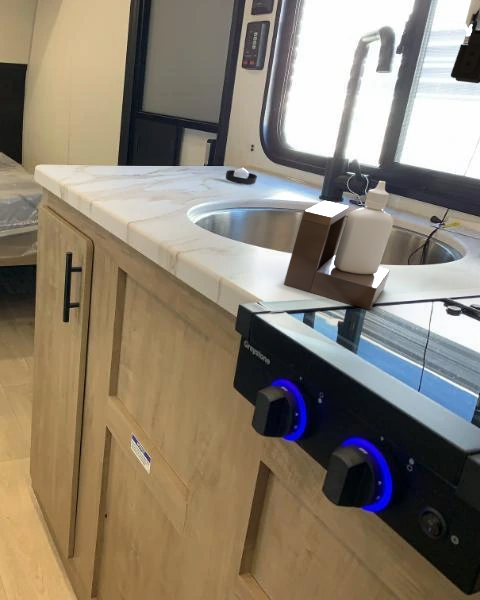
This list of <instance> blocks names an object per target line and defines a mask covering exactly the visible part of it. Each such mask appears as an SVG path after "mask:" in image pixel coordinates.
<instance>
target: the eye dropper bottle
mask: <svg viewBox="0 0 480 600" xmlns="http://www.w3.org/2000/svg"><path fill="white" fill-rule="evenodd" d="M389 197H390V193H388V192H387V191H386V181H384V180H379V181H378V183H377V184H376V187H375V188H373V189H370V190H368V191H367V196H366V199H365V202H364V207H360V208H356V209H353V210H351V211H350V212H348V214H347V216H346V219H345V222H344V226H343V229H342V232H341V236H340V239H339V242H338V245H337V249H336V252H335V259H334V262H333V264H334V266H335V267H336V268H338V269H339V270H341V271H344V272H349V273H356V274H375V273H376V272H377V271H378V269H379V267H381V266H380V265H381V263H382V259H383V257H384V254H385V250H386V248H387V245H388V241H389V238H390V236H391V232H392V230H393V225H394V218H393V217H392V216H391V214H389V213H388V212H386V211H384V210H385V209H386V206H387V204H388V200H389Z"/></svg>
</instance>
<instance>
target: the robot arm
mask: <svg viewBox="0 0 480 600" xmlns="http://www.w3.org/2000/svg"><path fill="white" fill-rule="evenodd" d="M464 28H465V31H466V34H465V36H464V39H463V42H462V44H460V46H459V48H458V51H457V55H456V58H455V60H454V63H453V67H452V69H451V72H450V77H451V78H452V79H455V81H457V82H461V83H462V82H463V83H470V84H480V0H470V4H469V8H468V11H467V15H466V19H465V24H464Z"/></svg>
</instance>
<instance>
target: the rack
mask: <svg viewBox="0 0 480 600" xmlns="http://www.w3.org/2000/svg"><path fill="white" fill-rule="evenodd" d="M349 209H350V206H349V205H345V204H341V203H336V202H332V201H327V200H323V201H321V202H318V203H316V204H315V205H313V206H311V207H308V208H307V209H305V210H303V211H302V216H301V220H300V223H299V227H298V230H297V233H296V238H295V241H294V245H293V249H292V252H291V255H290V259H289V263H288V267H287V270H286V274H285V278H284V281H283V285H285V286H289V287H290V288H294V289H297V290H302V291H305V292H308V293H311V294H314V295H318V296H320V297H325V298H328V299H332V300H333V301H334V300H335V301H338V302H341V303H344V304H347V305H350V306H354V307H358V308H361V309H363V310H367V311H370V310H371V309H372V307H373V305H374V304H375V302H376V301H377V300H378V298H379V297H380V295H381V294H382V292H383V291H384V289H385V286H386V284H387V280H388V277H389V274H390V272H391V270H390V269H388V268H384V267H381V266H379V269H378V271H377V272H376V273H375V274H356V273H349V272H344V271H341V270H339V269H338V268H336V267H335V266H334V264H333V262H334V259H335V255H336V252H337V249H338V246H339V242H340V239H341V236H342V233H343V229H344V226H345V223H346V220H347V217H348V213H349Z"/></svg>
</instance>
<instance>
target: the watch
mask: <svg viewBox="0 0 480 600" xmlns="http://www.w3.org/2000/svg"><path fill="white" fill-rule="evenodd" d="M257 178H258V176H257V175H256V174H255V173H251V172H248V170H247V169H245V168H244V167H242V168H237V169H236V170H235V169H229V170H226V172H225V179H226V180H227V181H229V182H231V183H235V184H240V185H255V184H256V181H257Z"/></svg>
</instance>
